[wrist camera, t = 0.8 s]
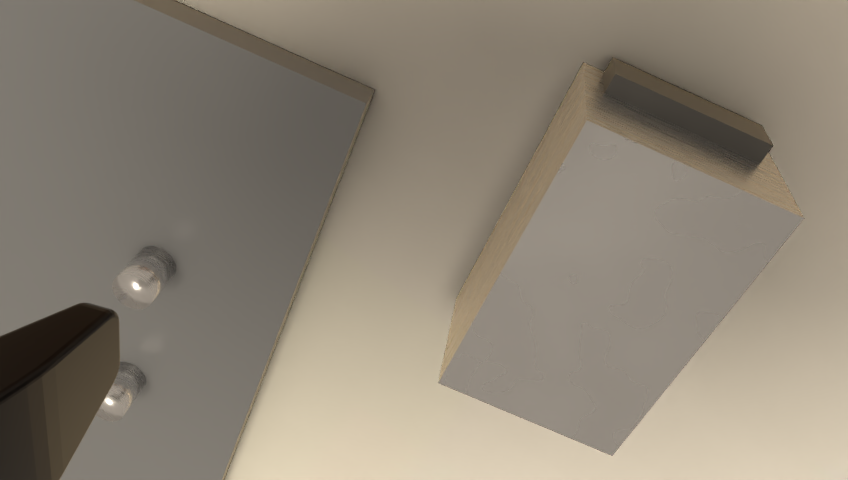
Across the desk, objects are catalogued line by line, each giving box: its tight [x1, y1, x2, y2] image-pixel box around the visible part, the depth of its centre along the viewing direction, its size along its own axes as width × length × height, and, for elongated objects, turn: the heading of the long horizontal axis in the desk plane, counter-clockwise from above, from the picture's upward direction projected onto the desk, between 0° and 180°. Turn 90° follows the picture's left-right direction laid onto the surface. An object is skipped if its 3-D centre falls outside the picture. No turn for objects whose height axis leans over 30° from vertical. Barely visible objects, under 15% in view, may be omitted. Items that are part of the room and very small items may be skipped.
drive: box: [438, 58, 804, 455], centre depth 19 cm, size 5×8×4 cm, turn 158°
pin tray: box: [0, 0, 375, 480], centre depth 24 cm, size 16×20×2 cm
